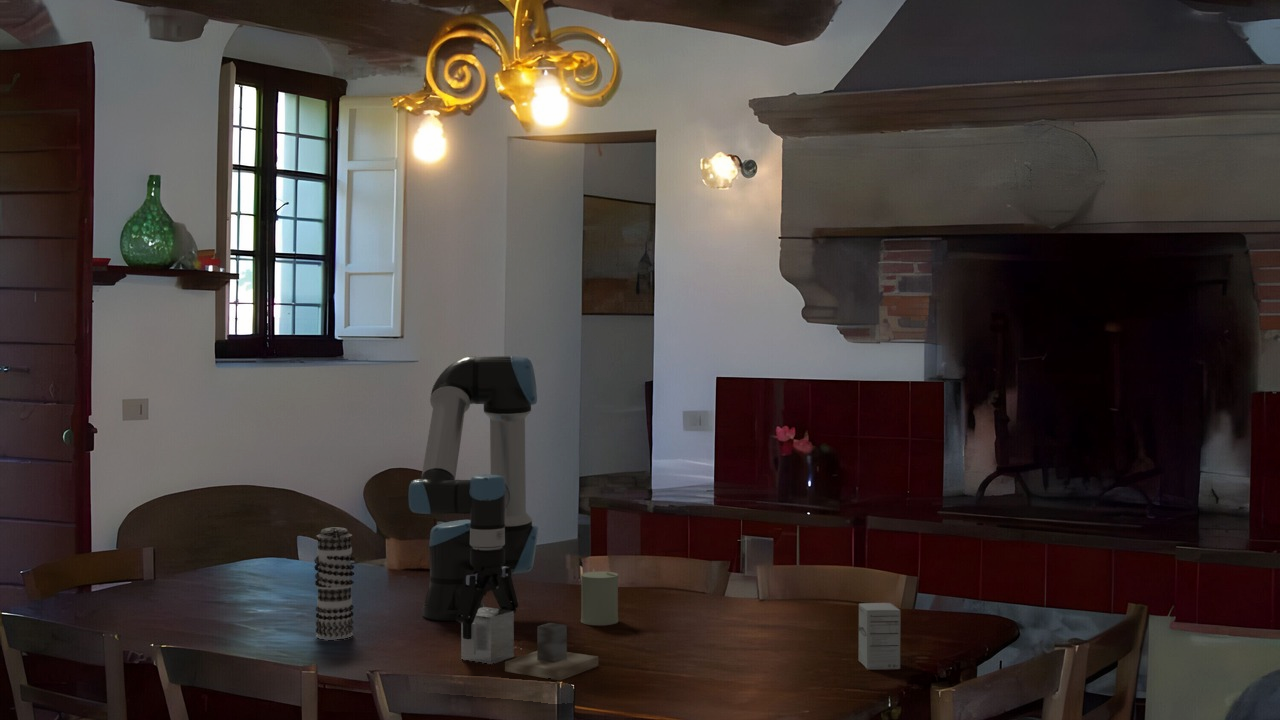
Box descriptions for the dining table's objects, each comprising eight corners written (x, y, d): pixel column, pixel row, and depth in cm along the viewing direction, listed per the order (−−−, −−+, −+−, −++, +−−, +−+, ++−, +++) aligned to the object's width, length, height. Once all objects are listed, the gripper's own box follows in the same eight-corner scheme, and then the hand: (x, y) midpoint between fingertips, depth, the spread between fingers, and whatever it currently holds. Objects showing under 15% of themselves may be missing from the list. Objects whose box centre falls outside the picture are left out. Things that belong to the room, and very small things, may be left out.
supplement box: (857, 661, 286) (857, 602, 286) (891, 660, 287) (891, 602, 287) (866, 670, 279) (866, 609, 279) (901, 669, 279) (901, 609, 279)
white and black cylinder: (362, 633, 312) (362, 526, 312) (341, 642, 303) (341, 532, 303) (328, 630, 315) (328, 524, 314) (306, 639, 306) (306, 530, 306)
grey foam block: (461, 659, 287) (461, 613, 287) (484, 652, 294) (484, 607, 294) (490, 664, 283) (490, 617, 283) (513, 656, 290) (513, 610, 289)
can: (613, 626, 320) (614, 576, 320) (576, 624, 322) (576, 575, 322) (622, 618, 329) (622, 570, 329) (585, 616, 331) (585, 568, 331)
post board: (504, 671, 277) (504, 628, 277) (544, 657, 289) (544, 616, 289) (560, 680, 270) (560, 636, 270) (598, 666, 282) (598, 623, 282)
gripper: (466, 556, 276) (466, 661, 276) (534, 541, 296) (534, 639, 296) (438, 553, 280) (438, 656, 280) (507, 538, 300) (507, 635, 300)
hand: (487, 648), depth 288 cm, fingers open, 11 cm apart
